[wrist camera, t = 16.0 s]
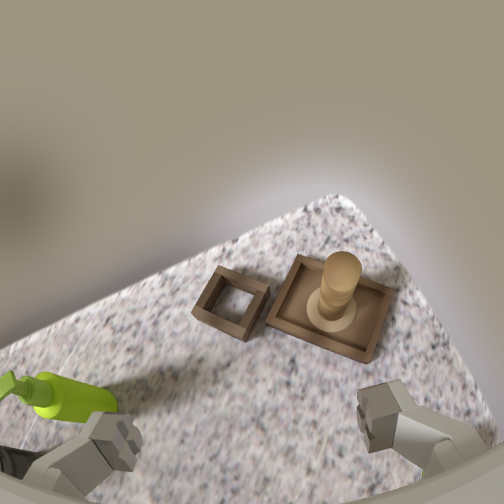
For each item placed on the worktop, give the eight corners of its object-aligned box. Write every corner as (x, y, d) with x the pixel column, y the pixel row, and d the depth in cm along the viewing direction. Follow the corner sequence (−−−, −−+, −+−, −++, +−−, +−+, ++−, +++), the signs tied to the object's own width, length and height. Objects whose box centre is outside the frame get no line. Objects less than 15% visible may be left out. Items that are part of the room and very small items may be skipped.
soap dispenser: (77, 402, 40) (-19, 376, 23) (106, 381, 41) (12, 346, 24) (93, 433, 37) (-6, 423, 20) (124, 413, 39) (27, 396, 21)
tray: (390, 294, 43) (393, 289, 41) (366, 364, 39) (369, 361, 37) (297, 260, 48) (297, 253, 46) (266, 324, 43) (265, 320, 42)
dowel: (349, 299, 42) (366, 258, 32) (339, 325, 41) (355, 291, 31) (323, 290, 44) (331, 246, 33) (312, 314, 42) (318, 277, 32)
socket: (270, 293, 46) (268, 285, 43) (245, 342, 42) (242, 337, 40) (222, 273, 48) (218, 264, 46) (196, 319, 45) (190, 312, 42)
